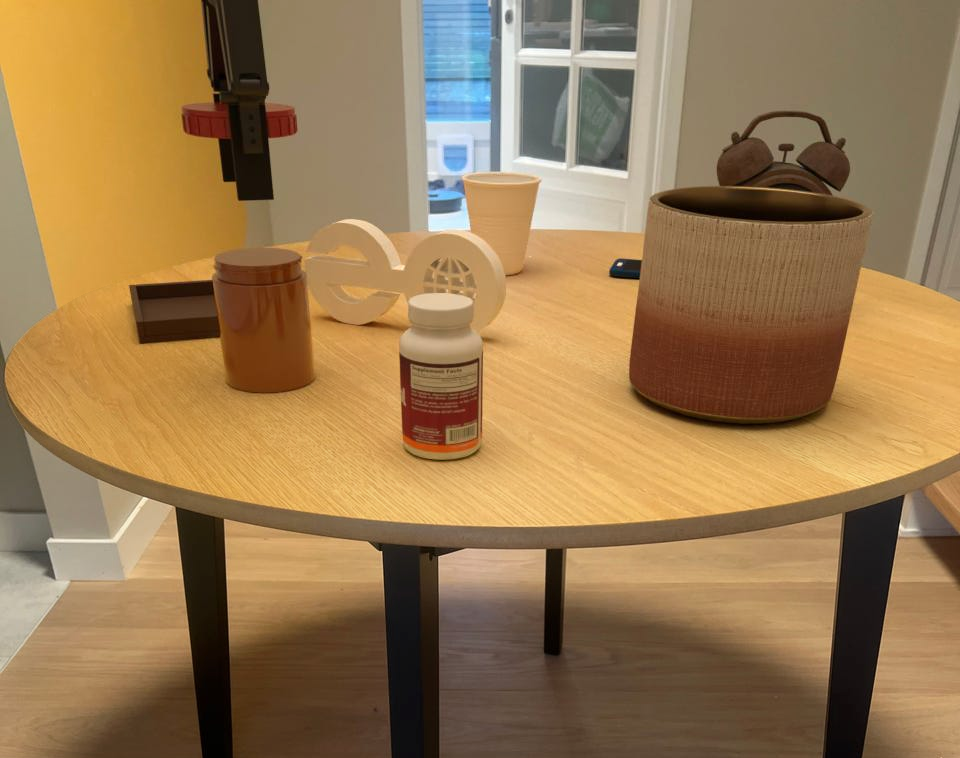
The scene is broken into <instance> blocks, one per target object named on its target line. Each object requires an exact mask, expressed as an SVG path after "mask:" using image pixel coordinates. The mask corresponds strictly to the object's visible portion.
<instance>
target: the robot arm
mask: <svg viewBox="0 0 960 758" xmlns="http://www.w3.org/2000/svg"><path fill="white" fill-rule="evenodd" d="M200 5H201V14H202V23H203V34H204V42H205V52H206V53H205V54H206V62H207V63H206V65H207V69H206V76H207V77H208V79H209V82H210V87H211V89H212V91H213V92H214V93H212V98H213V102H220V104H227V108H228V117H229V126H230V135H231V139H220V138H217V141H218V149H219V150H218V151H219V158H220V166H221V175H222V176H221V177H222V181H223V183H235V187H236V197H237V200H238V201H239V202H245V201H247V202H251V201H274V200H275V196H274V195H275V194H274V186H273V176H272V175H273V174H272V163H271V152H270V141H269V138H268V129H267V118H266V107H265V103H266V99H267V97H268V96H269V93H270V83H269V82H268V75H267V67H266V59H265V58H266V57H265V49H264V39H263V32H262V31H263V30H262V24H261V23H262V22H261V15H260V7H259V0H200Z"/></svg>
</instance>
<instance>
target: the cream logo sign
mask: <svg viewBox="0 0 960 758" xmlns="http://www.w3.org/2000/svg"><path fill="white" fill-rule="evenodd" d="M344 246H345V247H346V246H347V247H350V248H353V249H356V250H357V251H358V252H359V253H361V255H362V256H364V258H365V259H356V258H348V257H339V256H331V255H329V254H332V253H334V252H336V251H339V250H340V249H341V248H342V247H344ZM305 252H306V253H313V255H311V256H309V257H306V258H305V259H304V271H305V272H306V274H307V283H308V290H309V291H310V293H311V295H312V296H313V298H314V300H315V302H317V304H318V305H319V307H321V309H322V310H323V311H324V312H325V313H326V314H328V315H329V316H331V317H332V318H333V319H335V320H337V321H339V322H340V323H344V324H348V325H349V324H350V325H357V326H358V325H361V326H362V325H365V324H369V323H372V322H373V321H375V320H378V319H379V318H381V317H383V316H384V315H386V314H387V313H388V312H390V310H391V309H392V308H393V307H394V306H395V305H396V303H397V302H398V300H399V298H400V296H401V294H404V297H405V300H406V304H408V301H409V299H410V298H412V297H414V296H417V295H422V294H429V293H449V294H457V295H462V296H466V297H469V298H470V299H472V300H473V307H474V318H473V321H472V323H471V324H470V327H471V328H473V329H474V330H475V331H477V332H478V333H479V332H480V331H482V330H484V329H485V328H486V327H488V326H490V325H491V324H492V323H493V322H494V320H496V318H497V317H498V315H499V314H500V312H501V311H502V309H503V306H504V304H505V300H506V292H507V277H506V275H505V273H504V269H503V266H502V264H501V261H500V259H499V257H498V256H497V254H496V253H495V252H494V250H493V249H492V248H491V247H490V246H489V244H488V243H487V242H485V241H484V240H483V239H481V238H480V237H478V236H477V235H475V234H472V233H471V231H467V230H462V229H446V230H443V231H440V232H437V233H435V234H432V235H430V236H428V237H426V238H424V239H423V240H422V241H420V242H419V243H417V244H416V246H414V247H413V249H412V250H411V252H409V255H408V257H407V259H406V261H405V264H402V262H401V259H400V256H399V253H398V251H397V249H396V248H395V245H394V244H393V243H392V241H391V240H390V239H389V237H388V236H387V235H386V234H385V232H383V231H382V230H381V229H380V228H378V227H377V226H376V225H374V224H373V223H370V222H368V221H367V220H362V219H354V218H353V219H352V218H347V219H346V218H345V219H341V220H339V221H336V222H333V223H330V224H328V225H325V226H324V227H322V228H320V229H319V230H318V231H317V232H316V233H315V234H314V235H313V236H312V238H311V240H310V242H309V243H308V246H307V248H306V250H305ZM446 278H447V279H446ZM461 279H462V281H461ZM342 286H346V287H354V288H361V289H367V290H368V289H369V290H376V291H375V292H373V293H371V294H369V295H367V296H366V297H364V298H362V297H356V296H353V295H352V294H349V293H348V292H347V291H346V290H345V289H344V288H343V287H342ZM447 290H448V292H447ZM475 294H476V296H475V298H474V295H475Z"/></svg>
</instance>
